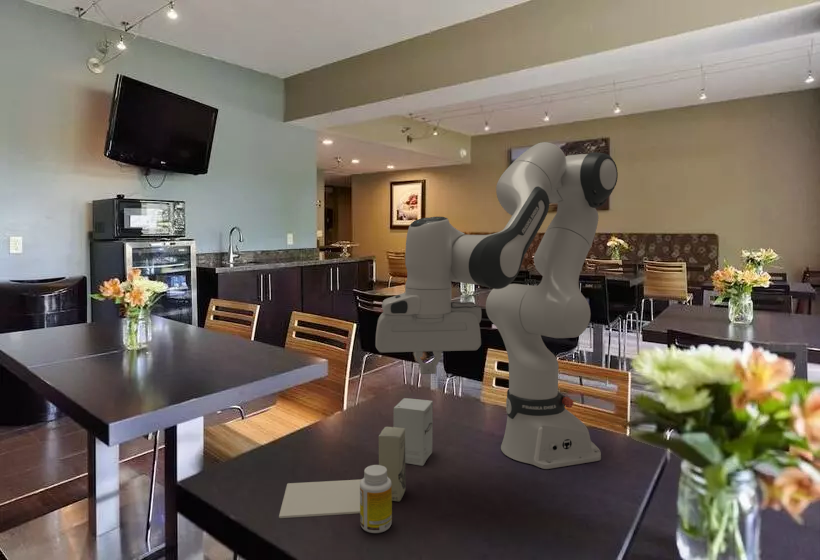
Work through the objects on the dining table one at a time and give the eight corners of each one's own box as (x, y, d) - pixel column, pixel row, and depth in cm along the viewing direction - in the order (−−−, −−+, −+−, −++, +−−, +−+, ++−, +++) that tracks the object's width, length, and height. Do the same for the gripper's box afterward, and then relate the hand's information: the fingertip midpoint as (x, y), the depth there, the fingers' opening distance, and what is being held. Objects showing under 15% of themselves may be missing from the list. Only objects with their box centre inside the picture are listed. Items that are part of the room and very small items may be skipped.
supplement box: (424, 466, 112) (424, 410, 111) (392, 461, 115) (392, 407, 113) (433, 452, 119) (433, 400, 118) (403, 448, 121) (403, 396, 120)
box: (400, 502, 97) (400, 437, 96) (378, 500, 98) (377, 435, 97) (406, 489, 102) (406, 427, 101) (385, 486, 103) (384, 425, 102)
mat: (375, 480, 106) (375, 478, 106) (378, 512, 94) (378, 510, 94) (287, 485, 104) (287, 483, 104) (279, 518, 92) (278, 516, 92)
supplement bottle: (398, 525, 90) (398, 469, 89) (375, 538, 86) (374, 480, 85) (376, 513, 94) (376, 459, 93) (353, 525, 90) (353, 470, 89)
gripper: (477, 299, 102) (476, 367, 103) (374, 300, 99) (375, 370, 101) (485, 304, 95) (484, 376, 97) (376, 305, 93) (376, 379, 94)
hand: (427, 373), depth 99 cm, fingers closed
